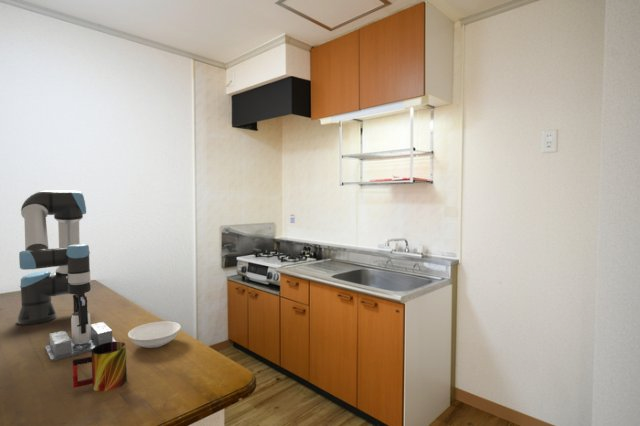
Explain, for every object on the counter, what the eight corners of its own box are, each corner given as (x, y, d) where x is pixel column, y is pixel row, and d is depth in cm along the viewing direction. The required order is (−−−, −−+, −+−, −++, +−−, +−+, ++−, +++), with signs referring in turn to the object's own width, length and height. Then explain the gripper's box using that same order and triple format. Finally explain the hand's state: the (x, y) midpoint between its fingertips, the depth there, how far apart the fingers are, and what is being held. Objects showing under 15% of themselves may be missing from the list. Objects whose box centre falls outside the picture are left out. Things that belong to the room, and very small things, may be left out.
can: (81, 345, 140) (80, 316, 140) (67, 344, 142) (66, 315, 141) (94, 339, 147) (93, 310, 146) (81, 338, 148) (80, 309, 147)
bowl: (191, 338, 151) (191, 324, 151) (156, 359, 133) (155, 342, 132) (154, 332, 158) (154, 318, 158) (116, 351, 139) (115, 335, 139)
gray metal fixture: (45, 348, 142) (44, 334, 142) (106, 333, 158) (106, 320, 157) (51, 361, 131) (50, 346, 131) (117, 343, 146) (116, 330, 146)
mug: (72, 390, 111) (71, 353, 111) (118, 372, 122) (117, 339, 122) (85, 401, 106) (83, 362, 105) (132, 381, 117) (131, 346, 116)
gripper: (63, 280, 147) (65, 334, 148) (72, 288, 133) (75, 348, 135) (84, 277, 152) (86, 329, 154) (95, 285, 139) (97, 342, 140)
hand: (81, 338), depth 144 cm, fingers closed on can, 6 cm apart
